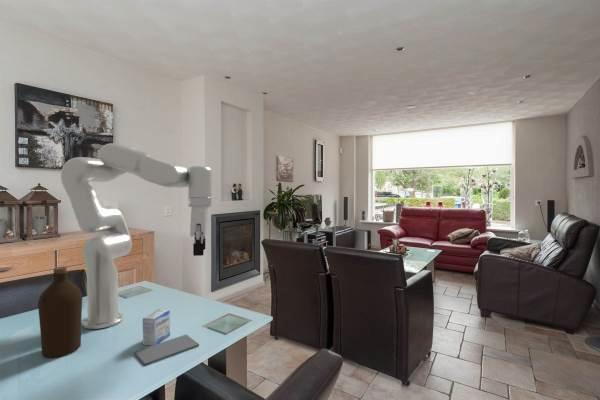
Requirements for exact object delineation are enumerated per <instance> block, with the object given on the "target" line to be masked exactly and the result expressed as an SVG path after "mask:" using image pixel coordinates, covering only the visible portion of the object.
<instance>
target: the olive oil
mask: <svg viewBox="0 0 600 400" xmlns="http://www.w3.org/2000/svg"><path fill="white" fill-rule="evenodd" d="M67 269H68V268H67V266H57V267H54V268H53V273H52V275H53V280H52V282H51V283H50V285H48V287H46V288H45V289H44V290H43V292H41V294H40V296H39V298H38V301H37V308H38V317H39V328H40V329H39V330H40V343H41V344H40V345H41V356H42V357H44V358H48V359H52V358H53V359H54V358H55V357H56V358H61V357H64V355H65V356H68V355H70V354H72V352H73V353H75V352H77V351H78V350H79V349H80V348H81V346H82V318H83V317H82V312H83V294H82V291H81V289H80V287H78V286H77V285H76V284H74V283H73V282H72V281H70V280H69V279H68V270H67ZM79 347H80V348H79ZM78 348H79V349H78ZM77 349H78V350H77ZM74 351H75V352H74ZM69 353H70V354H69ZM67 354H68V355H67ZM60 356H61V357H60Z"/></svg>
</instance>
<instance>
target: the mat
mask: <svg viewBox="0 0 600 400" xmlns="http://www.w3.org/2000/svg"><path fill="white" fill-rule="evenodd" d="M199 346H200V343H198V342H197V341H196V340H194V339H193V338H192V337H190V336H189V335H188V334H183V335H179V336H177V337H175V338H171V339H168V340H166V341H165V340H164V341H161V342H160V343H158V344H155V345H152V346H150V345H148V346H147V347H144V348H140V349H137V350H134V353H133V354H134V355H135V356H136V357H137V358H138V360H139V361H141V363H142V364H143V365H144V366H148V365H151V364H154V363H156V362H160V361H161V360H165V359H167V358H170V357H173V356H175V355H178V354H181V353H184V352H186V351H190V350H191V349H192V350H193V349H195V348H197V347H199Z"/></svg>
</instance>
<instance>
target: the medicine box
mask: <svg viewBox="0 0 600 400" xmlns="http://www.w3.org/2000/svg"><path fill="white" fill-rule="evenodd" d="M170 312H171V311H170V309H161V308H160V309H157V310H155V311H153V312H151V313H149V314H148V315H147V316H145V317H142V345H144V346H152V345H155V344H158V343H162V342H164V341H165V339H167V338H168V337H169V336H171V320H170V319H171V314H170ZM163 340H164V341H163Z"/></svg>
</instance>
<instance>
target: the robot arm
mask: <svg viewBox="0 0 600 400" xmlns="http://www.w3.org/2000/svg"><path fill="white" fill-rule="evenodd" d="M98 157H99V158H94V157H87V156H85V157H83V156H79V157H73V158H70V159H69V160H67V161H66V162H65V163H64V164H63V166H62V168H61V172H60V179H61V180H60V181H61V184H62V185H63V188H64V190H65V192H66V195H67V197H68V198H69V201H70V203H71V207H72V211H73V213H74V216H75V218H76V221H77V225H78V226H79V228H80V230H81V231H82V232H83V233H85V234H90V235H91V234H99V233H104V234H102V235H97V236H93V237H91V238H89V240H87V241H86V242H85V244H84V245H83V248H82V254H83V258H84V259H83V260H84V263H85V268H86V286H87V288H86V291H87V293H86V295H87V297H86V298H87V302H86V303H87V318H85V319H84V320H82V327H83V328H85V329H86V330H87V329H88V330H101V329H105V328H110V327H112V326H116V325H117V324H119V323H120V322H122V321H123V320H124V315H123V313H121V312H119V277H118V275H119V274H118V273H119V272H118V268H117V266H116V263H115V262H114V260H115V259H118V258H121V257H125V256H127V255H128V254H129V253H130V252H131V250H132V249H133V248H132V247H133V240H132V236H131V233H130V231H129V227H128V225H127V223H126V220H125V217H124V215H123V213H122V211H121V210H119V208H117V207H115V206H111V205H102V203H101V201H100V200H101V199H100V198H99V195H98V193H97V191H96V190H95V189H94V188H93V187H92V185H90V184H89V182H99V183H100V182H102V183H103V182H104V183H105V182H110V181H113V180H115V179H117V178H119V177H120V176H123V175H124V174H126V173H129V174H131V175H135V176H138V178H140V179H142V180H143V181H147V182H149V183H152V184H155V185H158V186H162V187H164V188H188V193H187V194H188V197H187V199H188V200H187V201H188V202H187V204H188V208H191V210H190V224H189V225H190V226H189V227H190V229H189V231H190V232H189V237H191V238H193V237H194V238H193V243H192V246H193V247H192V248H193V251H192V255H193V256H194V257H195V256H198V257H199V256H204V250H206V234H207V230H208V221H209V220H208V218H209V216H208V213H209V209H208V208H211V207H212V190H213V189H212V186H213V185H212V183H213V182H212V181H213V180H212V178H213V177H212V176H213V175H212V174H213V173H212V169H211V168H210V167H208V166H201V165H198V166H197V165H194V166H191V167H190V166H184V165H178V164H171V163H167V162H164V161H161V160H158V159H154V158H152V157H151V156H150V154H149V153H147V152H144V151H141V150H138V149H136V148H135V147H133V146H129V145H126V144H125V145H124V144H120V143H115V142H110V143H107V144H104V145H103V146H102V147H100V149H99V152H98Z"/></svg>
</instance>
